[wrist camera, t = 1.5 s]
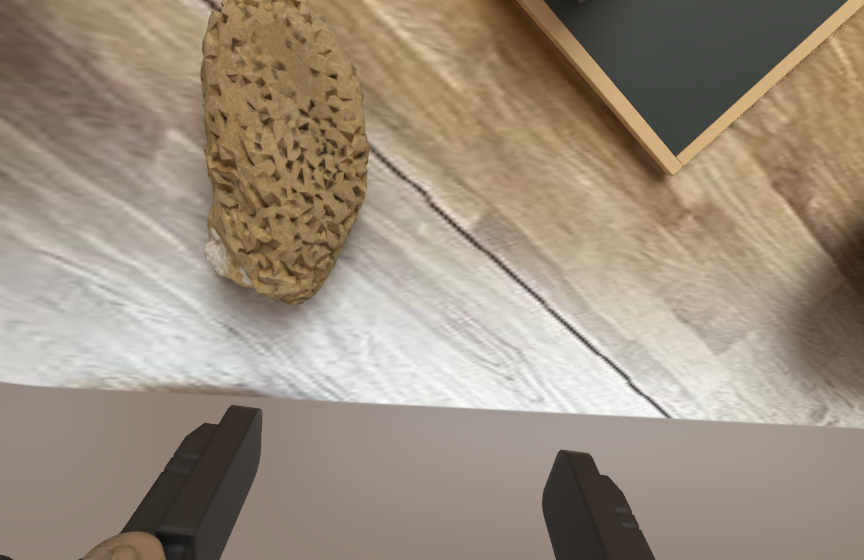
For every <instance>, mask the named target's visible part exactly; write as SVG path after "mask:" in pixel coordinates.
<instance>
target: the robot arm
mask: <svg viewBox="0 0 864 560" xmlns="http://www.w3.org/2000/svg"><path fill="white" fill-rule="evenodd" d="M261 431H262V410H261V409H259V408H251V407H244V406H236V405H231V406H230V407H229V408H228V410H227V411H226V413H225V415H224V416H223V418H222V420H221V421H220V423H219V424H218V425H216V424H209V423H204V424H202V425H201V426H200V427H198V428H197V429H196V430H194V431H193V432H192V433H190V434H189V435H187V436H186V437H185V439H184V440H183V442H182V443H181V445H180V446H179V448H178V449H177V451H176V452H175V453H174V457H172V458H171V459H170V461H169V462H168V464H167V465H166V467H165V468H164V472H162V473H161V474H160V475H159V477H158V478H157V480H156V481H155V483H154V484H153V486H152V487H151V489H150V490H149V492H148V493H147V495H146V496H145V498H144V499H143V501H142V502H141V504H140V505H139V506H138V508H137V509H136V511H135V512H134V514H133V515H132V517H131V518H130V520H129V521H128V523H127V524H126V526H125V527H124V528H123V530H122V531H121V532H120V533H119V534H118V535H116V536H114V537H111V538H109V539H107V540H105V541H103V542H101V543H100V544H98V545H97V546H96V547H94V548H93V549H92V550H91V551H90V552H88V553H87V554H86V555H85V557H84V558H81V559H79V560H219V559H220V557H221V555H222V552H223V550H224V548H225V546H226V543H227V541H228V539H229V536H230V534H231V531H232V529H233V527H234V525H235V522H236V520H237V518H238V515H239V513H240V511H241V508H242V506H243V504H244V501H245V499H246V497H247V495H248V492H249V490H250V487H251V485H252V483H253V481H254V478H255V475H256V472H257V468H258V465H259V460H260V453H261ZM542 507H543V514H544V518H545V522H546V525H547V529H548V533H549V536H550V540H551V543H552V547H553V550H554V554H555V558H556V560H655V558H654V556H653V554H652V551H651V549H650V547H649V545H648V543H647V541H646V539H645V537H644V535H643V533H642V531H641V530H639V525H638V523H637V521H636V519H635V517H634V515H632V511H631V508H630V506H629V504H628V502H627V500H626V498H625V496H624V494H623V492H622V491H621V490H620V489H619V488H618V487H617V486H616V485H615V483H614V482H613V481H612V480H611V479H610V478H609V477H608V476H605V475H600V474H599V471H598V469H597V467H596V465H595V462H594V460H593V458H592V456H591V455H590V454H589V453H583V452H575V451H568V450H560V451H559V452H558V454H557V456H556V459H555V462H554V464H553V467H552V470H551V472H550V475H549V478H548V480H547V483H546V486H545V488H544V491H543V499H542ZM0 560H13V559H11V558H9V557H7V556H4V555H0Z"/></svg>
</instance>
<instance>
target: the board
mask: <svg viewBox="0 0 864 560" xmlns="http://www.w3.org/2000/svg"><path fill="white" fill-rule="evenodd" d="M516 1H517V2H518V3H519V4H520V5H521V7H522V8H523V9H524V10H525V11H526V12H527V13H528V15H529V16H530V17H531V18H532V19H533V20H534V22H535V23H536V24H537V25H538V26H539V27H540V29H541V30H542V31H543V32H544V33H545V34H546V35H547V37H548V38H549V39H550V40H551V41H552V42H553V44H554V45H555V46H556V47H557V48H558V49H559V51H560V52H561V53H562V54H563V55H564V56H565V58H566V59H567V60H568V61H569V62H570V63H571V64H572V66H573V67H574V68H575V69H576V70H577V71H578V73H579V74H580V75H581V76H582V77H583V78H584V80H585V81H586V82H587V83H588V84H589V85H590V86H591V88H592V89H593V90H594V91H595V92H596V93H597V95H598V96H599V97H600V98H601V99H602V100H603V102H604V103H605V104H606V105H607V106H608V107H609V109H610V110H611V111H612V112H613V113H614V114H615V115H616V117H617V118H618V119H619V120H620V121H621V122H622V124H623V125H624V126H625V127H626V128H627V129H628V131H629V132H630V133H631V134H632V135H633V136H634V137H635V139H636V140H637V141H638V142H639V143H640V144H641V146H642V147H643V148H644V149H645V150H646V151H647V153H648V154H649V155H650V156H651V157H652V158H653V160H654V161H655V162H656V163H657V164H658V165H659V166H660V168H661V169H662V170H663V171H664V172H665V173H667V174H669V175H672V176H673V175H674V174H675V173H676V172H678V171H679V170H680V169H681V168H682V167H683V166H684V165H686V164H687V163H688V162H689V161H690V160H691V159H692V158H693V157H694V156H696V155H697V154H698V153H699V152H700V151H701V150H702V149H703V148H705V147H706V146H707V145H708V144H709V143H710V142H711V141H712V140H713V139H715V138H716V137H717V136H718V135H719V134H720V133H721V132H722V131H723V130H725V129H726V128H727V127H728V126H729V125H730V124H731V123H732V122H733V121H735V120H736V119H737V118H738V117H739V116H740V115H741V114H742V113H744V112H745V111H746V110H747V109H748V108H749V107H750V106H751V105H752V104H754V103H755V102H756V101H757V100H758V99H759V98H760V97H761V96H762V95H764V94H765V93H766V92H767V91H768V90H769V89H770V88H771V87H772V86H774V85H775V84H776V83H777V82H778V81H779V80H780V79H781V78H782V77H784V76H785V75H786V74H787V73H788V72H789V71H790V70H791V69H793V68H794V67H795V66H796V65H797V64H798V63H799V62H800V61H801V60H803V59H804V58H805V57H806V56H807V55H808V54H809V53H810V52H811V51H813V50H814V49H815V48H816V47H817V46H818V45H819V44H820V43H821V42H823V41H824V40H825V39H826V38H827V37H828V36H829V35H830V34H832V33H833V32H834V31H835V30H836V29H837V28H838V27H839V26H840V25H842V24H843V23H844V22H845V21H846V20H847V19H848V18H849V17H850V16H852V15H853V14H854V13H855V12H856V11H857V10H858V9H859V8H860V7H862V6H863V5H864V0H585V1H584V2H582V3H579V1H578V0H516Z"/></svg>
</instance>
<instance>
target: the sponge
mask: <svg viewBox="0 0 864 560" xmlns="http://www.w3.org/2000/svg"><path fill="white" fill-rule="evenodd" d="M221 4H222V6H223V8H222V12H216V11H212V12H211V15H210V18H209V22H208V28H207V31H206V34H205V37H204V39H203V44H202V51H203V55H204V58H203V63H202V67H201V83H202V91H203V97H204V104H203V106H204V110H205V117H204V120H203V121H204V127H205V132H206V135H207V146H206V147H205V148H204V151H205V155H206V161H207V167H208V176H209V177H210V179H211V183H212V187H213V192H214V204H213V205H212V207H211V208H210V210H209V214H208V229H209V242H208V243H206V245H205V247H204V253H205V258H206V259H207V261H208V262H209V263H210V264H211V265H212V266H213V267H214V269H215V271H216V272H217V273H218V274H219V275H221V276H222V277H225V278H228V279H231V280H232V281H234V282H236V283H237V284H240V285H242V286H244V287H248V288H254V289H255V290H256V291H257V292H258V293H260V294H263V295H265V296H268V297H270V298H272V299H274V300H281V301H283V302H285V303H287V304H292V305H298V304H302V303H303V300H308V299H310V298H311V297H312V296H313V295H314V294H316V292H317V291H318V290H319V289H320V288H321V286H322V284H323V283H324V281H325V279H326V278H327V276H328V274H329V273H330V271H331V270H332V268H333V267H334V266H335V263H336V260H337V258H338V256H339V255H340V253H341V251H342V250H343V244H344V242H345V240H346V238H347V236H348V234H349V232H350V230H351V228H352V227H353V224H354V222H355V220H356V218H357V213H358V212H357V211H358V210H359V209H360V207H361V205H362V203H363V201H364V198H365V192H366V188H367V171H368V170H366V165H367V163H368V156H369V149H370V142H368V141H367V135H366V133H365V121H364V111H363V105H362V102H363V94H362V91H361V84H360V81H359V79H358V78H357V73H356V68H355V66H354V65H353V63H352V62H351V60H350V59H349V57H348V56H347V54H346V53H345V51H344V49H343V47H342V45H341V44H340V42H339V40H338V39H337V37H336V36H335V35H334V33H333V32H332V31H331V29H330V28H329V27H328V25H327V24H326V22H325V19H324V17H320V15H319V14H318V12H317V11H316V10H315V8H314V7H313V5H312V4H311V3H309V2H308V1H307V0H224V1H222V2H221Z"/></svg>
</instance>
